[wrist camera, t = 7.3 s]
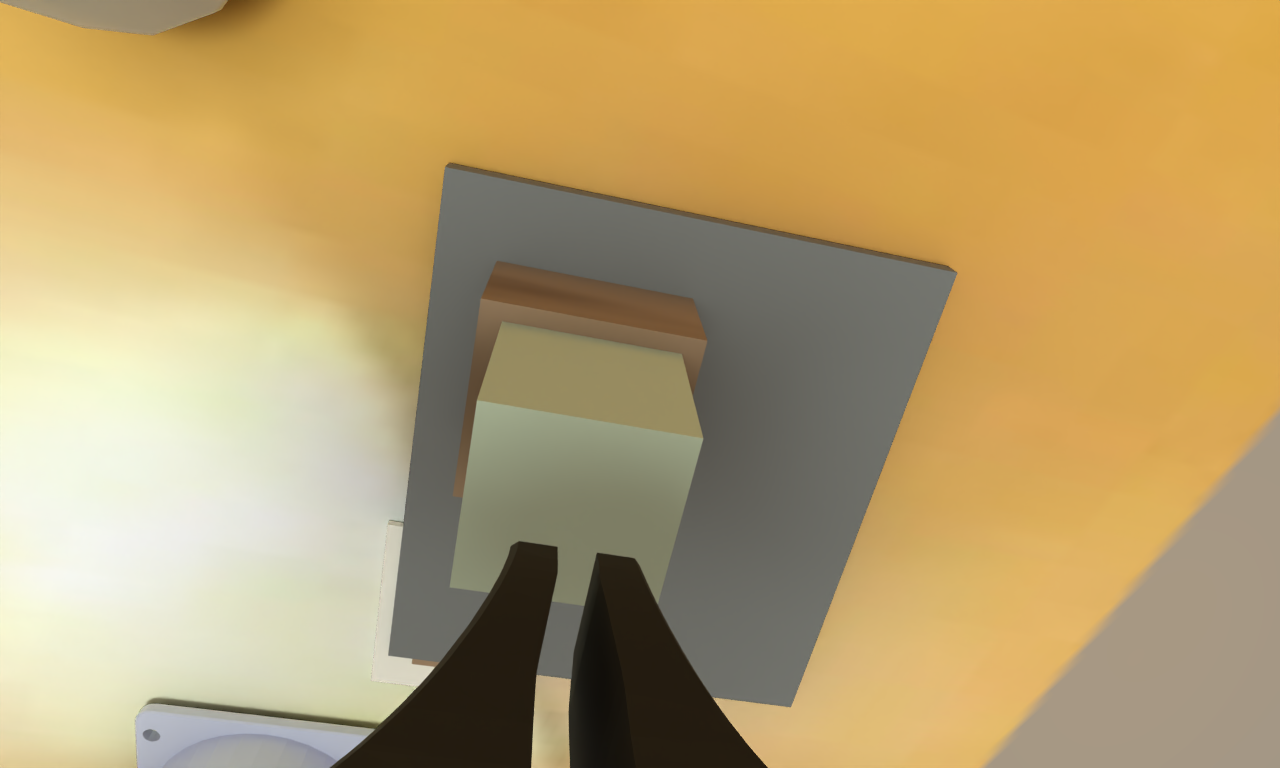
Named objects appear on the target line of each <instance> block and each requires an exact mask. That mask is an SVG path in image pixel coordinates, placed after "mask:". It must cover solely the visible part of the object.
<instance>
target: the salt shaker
mask: <svg viewBox="0 0 1280 768" xmlns="http://www.w3.org/2000/svg"><path fill="white" fill-rule="evenodd" d="M227 1H228V0H0V2H1V3H4V4H8V5H11V6H14V7H17V8H21V9H24V10H27V11H30V12H34V13H37V14H40V15H43V16H47V17H50V18H53V19H56V20H60V21H63V22H66V23H69V24H72V25H76V26H79V27H82V28H89V29H98V30H108V31H117V32H126V33H135V34H144V35H155V34H158V33H161V32H163V31H166V30H169V29H172V28H174V27H177V26H180V25H183V24H186V23H188V22H191V21H194V20H197V19H199V18H202V17H205V16H208V15H210V14H213V13H215V12H217V11H220V10H222V8H223V7H224V5H225V4H226V3H227Z"/></svg>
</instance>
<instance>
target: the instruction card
mask: <svg viewBox="0 0 1280 768" xmlns="http://www.w3.org/2000/svg"><path fill="white" fill-rule="evenodd" d="M402 532H403V523H402V522H395V521H389V522H388V526H387V535H386V544H385V554H384V563H383V572H382V582H381V591H380V600H379V610H378V619H377V628H376V637H375V647H374V656H373V665H372V675H371V681H377V682H385V683H393V684H401V685H409V686H417V687H418V686H419V685H420V684H421V683H422V682H423V681H424V680H425V678H426V677H427V676H428V675H429V674H430V673H431V672H432V670H433V669H434V668H435V667H436V666H437V665H438V663H439V662H433V661H426V660H418V659H410V658H402V657H394V656H388V652H389V643H390V635H391V626H392V618H393V609H394V600H395V592H396V583H397V575H398V566H399V558H400V549H401V541H402Z"/></svg>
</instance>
